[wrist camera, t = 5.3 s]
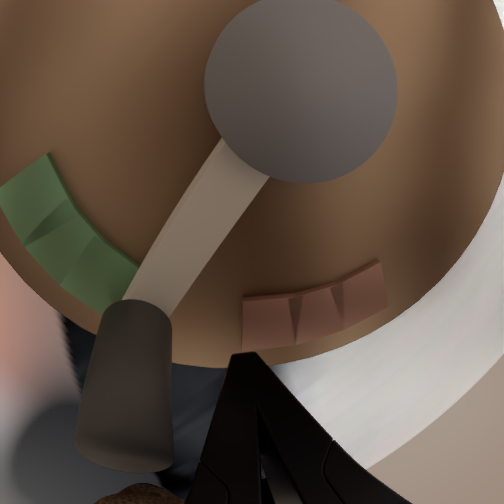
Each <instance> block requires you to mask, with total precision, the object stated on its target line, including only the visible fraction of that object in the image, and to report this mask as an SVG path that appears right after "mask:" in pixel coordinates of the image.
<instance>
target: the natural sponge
mask: <svg viewBox="0 0 504 504" xmlns="http://www.w3.org/2000/svg"><path fill="white" fill-rule="evenodd" d="M184 502H185V500H184V499H182V498H180V497H177V496H175V495H173V494H172V493H170V492H168V491H167V490H165V489H163V488H161V487H158V486H155V485H152V484H148V483H137V484H133V485H131V486H128V487H127V488H125V489H123V490H122V491H120V492H119V493H116V494H112V495H109V496H105V497H102V498H101V499H99V500H98V501H96V502H95V503H94V504H184Z"/></svg>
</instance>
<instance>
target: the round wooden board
mask: <svg viewBox="0 0 504 504" xmlns="http://www.w3.org/2000/svg"><path fill="white" fill-rule="evenodd" d="M258 1H261V0H0V252H1V254H2V255H3V256H4V257H5V259H6V260H7V261H8V262H9V264H10V265H11V266H12V267H13V269H14V270H15V271H16V272H17V273H18V274H19V276H20V277H21V278H22V279H23V280H24V281H25V282H26V284H28V285H29V286H30V287H31V288H32V289H33V290H34V291H35V292H36V293H37V294H38V295H39V296H40V297H41V298H43V299H44V300H45V301H46V302H47V303H48V304H49V305H50V306H52V307H53V308H54V309H56V310H57V311H58V312H60V313H61V314H63V315H64V316H65V317H67V318H68V319H70V320H71V321H73V322H74V323H76V324H77V325H79V326H80V327H82V328H83V329H85V330H87V331H89V332H91V333H93V334H95V335H97V332H98V328H99V325H100V321H101V318H102V315H103V313H104V311H105V310H106V309H107V307H109V306H110V305H111V304H113V303H115V302H117V301H121V300H122V299H123V297H124V295H125V293H126V291H127V289H128V287H129V286H130V284H131V282H132V280H133V278H134V277H135V275H136V273H137V271H138V269H139V268H140V266H141V264H142V262H143V261H144V259H145V257H146V255H147V254H148V252H149V250H150V249H151V247H152V245H153V243H154V242H155V240H156V238H157V237H158V235H159V233H160V232H161V230H162V228H163V227H164V225H165V223H166V222H167V220H168V219H169V217H170V215H171V214H172V212H173V210H174V209H175V207H176V206H177V204H178V203H179V201H180V199H181V198H182V196H183V195H184V193H185V192H186V190H187V188H188V187H189V185H190V184H191V182H192V181H193V179H194V178H195V176H196V175H197V173H198V172H199V170H200V169H201V167H202V166H203V164H204V163H205V161H206V160H207V158H208V157H209V155H210V154H211V153H212V151H213V150H214V148H215V147H216V145H217V144H218V142H219V141H220V140H221V138H222V137H221V135H220V133H219V132H218V130H217V128H216V127H215V125H214V123H213V122H212V120H211V117H210V115H209V112H208V110H207V106H206V102H205V97H204V74H205V68H206V65H207V62H208V58H209V56H210V53H211V51H212V49H213V47H214V45H215V43H216V41H217V39H218V37H219V35H220V34H221V32H222V31H223V30H224V28H225V27H226V26H227V24H228V23H229V22H230V21H231V20H232V19H233V18H234V17H235V16H236V15H238V14H239V13H240V12H242V11H243V10H244V9H246V8H247V7H249V6H251V5H253V4H254V3H256V2H258ZM335 1H337V2H339V3H341V4H343V5H345V6H347V7H349V8H350V9H352V10H353V11H355V12H356V13H358V14H359V15H360V16H361V17H363V18H364V19H365V20H366V21H367V22H368V23H369V24H370V25H371V26H372V27H373V28H374V29H375V31H376V32H377V33H378V35H379V36H380V37H381V39H382V40H383V42H384V44H385V46H386V47H387V49H388V51H389V54H390V56H391V59H392V61H393V65H394V68H395V72H396V78H397V89H398V97H397V107H396V111H395V116H394V119H393V122H392V125H391V128H390V130H389V132H388V134H387V136H386V138H385V140H384V141H383V143H382V144H381V146H380V147H379V148H378V150H377V151H376V152H375V153H374V154H373V155H372V156H371V157H370V158H369V159H368V160H367V161H366V162H365V163H364V164H362V165H361V166H359V167H358V168H357V169H355V170H354V171H352V172H350V173H348V174H346V175H344V176H341V177H339V178H336V179H333V180H329V181H325V182H320V183H311V184H308V183H292V182H286V181H282V180H278V179H275V178H272V177H269V178H268V180H267V181H266V182H265V184H264V185H263V186H262V188H261V189H260V190H259V192H258V193H257V194H256V196H255V197H254V199H253V200H252V201H251V203H250V204H249V205H248V207H247V208H246V209H245V211H244V212H243V214H242V215H241V216H240V218H239V219H238V220H237V222H236V223H235V225H234V226H233V227H232V229H231V230H230V232H229V233H228V234H227V236H226V237H225V238H224V240H223V241H222V243H221V244H220V245H219V247H218V248H217V250H216V251H215V252H214V254H213V255H212V257H211V258H210V260H209V261H208V262H207V264H206V265H205V267H204V268H203V269H202V271H201V272H200V274H199V275H198V277H197V278H196V279H195V281H194V282H193V284H192V285H191V287H190V288H189V289H188V291H187V292H186V294H185V295H184V297H183V298H182V299H181V301H180V302H179V304H178V305H177V307H176V308H175V310H174V311H173V313H172V314H171V315H170V317H169V320H170V322H171V324H172V362H173V363H178V364H184V365H192V366H201V367H210V368H227V367H228V364H229V360H230V357H231V355H232V354H235V353H244V352H252V351H254V352H256V353H257V354H258V355H259V356H260V357H261V358H262V359H263V361H264V362H265V363H266V364H267V365H268V366H269V365H277V364H283V363H287V362H292V361H296V360H301V359H305V358H310V357H313V356H316V355H319V354H322V353H325V352H328V351H331V350H334V349H337V348H339V347H342V346H344V345H346V344H348V343H351V342H353V341H355V340H357V339H359V338H361V337H364V336H366V335H368V334H370V333H371V332H373V331H375V330H376V329H378V328H380V327H381V326H383V325H385V324H386V323H388V322H390V321H391V320H393V319H395V318H396V317H397V316H399V315H400V314H401V313H403V312H404V311H405V310H407V309H408V308H409V307H411V306H412V305H413V304H415V303H416V302H417V301H419V300H420V299H421V298H422V297H423V296H424V295H425V294H426V293H427V292H428V291H429V290H431V289H432V288H433V287H434V286H435V285H436V284H437V283H438V282H439V281H440V280H441V279H442V278H443V277H444V275H445V274H446V273H447V272H448V271H449V270H450V269H451V267H452V266H453V265H454V264H455V263H456V262H457V260H458V259H459V258H460V257H461V255H462V254H463V252H464V251H465V250H466V248H467V247H468V245H469V244H470V242H471V241H472V239H473V238H474V236H475V235H476V233H477V231H478V230H479V228H480V226H481V224H482V222H483V221H484V219H485V217H486V215H487V213H488V211H489V209H490V207H491V205H492V202H493V200H494V197H495V195H496V192H497V190H498V187H499V185H500V182H501V179H502V175H503V172H504V30H503V27H502V24H501V21H500V18H499V15H498V12H497V9H496V7H495V4H494V2H493V0H335Z"/></svg>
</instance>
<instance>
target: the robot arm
mask: <svg viewBox="0 0 504 504" xmlns="http://www.w3.org/2000/svg"><path fill="white" fill-rule="evenodd" d="M332 440H333V438H332V437H331V436H330V435H329V434H328V433H327V432H326V430H325V429H324V428H323V427H322V426H321V425H320V424H319V423H318V422H317V421H316V420H315V419H314V417H313V416H312V415H311V414H310V413H309V412H308V411H307V410H306V409H305V407H304V406H303V405H302V404H301V403H300V402H299V401H298V400H297V399H296V397H295V396H294V395H293V394H292V393H291V392H290V391H289V390H288V388H287V387H286V386H285V385H284V384H283V383H282V382H281V380H280V379H279V378H278V377H277V376H276V375H275V373H274V372H273V371H272V370H271V369H270V368H269V366H268V365H267V364H266V363H265V362H264V361H263V359H262V358H261V357H260V356H259V355H258V354H257V353H256V352H254V351H252V352H244V353H235V354H232V355H231V357H230V360H229V364H228V367H227V371H226V374H225V377H224V381H223V384H222V387H221V391H220V394H219V398H218V401H217V404H216V408H215V411H214V414H213V418H212V421H211V424H210V428H209V431H208V434H207V438H206V441H205V444H204V447H203V451H202V454H201V457H200V461H201V462H199V463H198V467H197V470H196V473H195V476H194V479H193V482H192V485H191V487H190V490H189V493H188V495H187V498H186V500H185V502H184V504H263V497H262V480H261V463H262V466H263V469H264V472H265V475H266V478H267V481H268V484H269V487H270V490H271V493H272V495H273V498H274V501H275V504H412V503H411V502H409V501H407V500H406V499H404V498H403V497H402V496H400V495H399V494H397V493H396V492H395V491H393V490H392V489H391V488H389V487H388V486H386V485H385V484H384V483H382V482H381V481H380V480H378V479H377V478H376V477H374V476H373V475H372V474H370V473H369V472H368V471H367V470H366V469H364V468H363V467H362V466H361V465H359V464H358V463H357V462H356V461H355V460H354V459H353V458H352V457H351V456H350V455H349V454H348V453H347V452H346V451H345V450H344V449H343V448H342V447H341V446H340V445H339V444H338V443H337V442H336V441H335V440H333V441H332ZM260 460H261V462H260Z"/></svg>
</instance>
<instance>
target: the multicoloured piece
mask: <svg viewBox="0 0 504 504" xmlns="http://www.w3.org/2000/svg"><path fill="white" fill-rule="evenodd" d="M204 97H205V102H206V106H207V110H208V112H209V115H210V117H211V120H212V122H213V123H214V125H215V127H216V128H217V130H218V132H219V133H220V135H221V137H222V138H221V140H220V141H219V142H218V144H217V145H216V147H215V148H214V150H213V151H212V153H211V154H210V155H209V157H208V158H207V160H206V161H205V163H204V164H203V166H202V167H201V169H200V170H199V172H198V173H197V175H196V176H195V178H194V179H193V181H192V182H191V184H190V185H189V187H188V188H187V190H186V192H185V193H184V195H183V196H182V198H181V199H180V201H179V203H178V204H177V206H176V207H175V209H174V210H173V212H172V214H171V215H170V217H169V219H168V220H167V222H166V223H165V225H164V227H163V228H162V230H161V232H160V233H159V235H158V237H157V238H156V240H155V242H154V243H153V245H152V247H151V249H150V250H149V252H148V254H147V255H146V257H145V259H144V261H143V262H142V264H141V266H140V268H139V269H138V271H137V273H136V275H135V277H134V278H133V280H132V282H131V284H130V286H129V287H128V289H127V291H126V293H125V295H124V297H123V299H122V300H121V301H117V302H115V303H113V304H111V305H110V306H109V307H107V309H106V310H105V311H104V313H103V315H102V318H101V321H100V325H99V328H98V332H97V336H96V339H95V343H94V347H93V351H92V355H91V359H90V363H89V367H88V371H87V375H86V380H85V384H84V389H83V393H82V398H81V403H80V408H79V413H78V419H77V424H76V430H75V436H74V447H75V449H76V450H77V451H78V453H79V454H81V455H82V456H83V457H84V458H86V459H88V460H89V461H91V462H93V463H95V464H97V465H100V466H103V467H106V468H109V469H113V470H116V471H121V472H129V473H152V472H157V471H161V470H164V469H167V468H168V467H170V466H171V465H172V464H173V462H174V450H173V424H172V324H171V322H170V320H169V317H170V315H171V314H172V313H173V311H174V310H175V308H176V307H177V305H178V304H179V302H180V301H181V299H182V298H183V297H184V295H185V294H186V292H187V291H188V289H189V288H190V287H191V285H192V284H193V282H194V281H195V279H196V278H197V277H198V275H199V274H200V272H201V271H202V269H203V268H204V267H205V265H206V264H207V262H208V261H209V260H210V258H211V257H212V255H213V254H214V252H215V251H216V250H217V248H218V247H219V245H220V244H221V243H222V241H223V240H224V238H225V237H226V236H227V234H228V233H229V232H230V230H231V229H232V227H233V226H234V225H235V223H236V222H237V220H238V219H239V218H240V216H241V215H242V214H243V212H244V211H245V209H246V208H247V207H248V205H249V204H250V203H251V201H252V200H253V199H254V197H255V196H256V194H257V193H258V192H259V190H260V189H261V188H262V186H263V185H264V184H265V182H266V181H267V180H268V178H269V177H272V178H275V179H278V180H282V181H286V182H292V183H308V184H311V183H320V182H325V181H329V180H333V179H336V178H339V177H341V176H344V175H346V174H348V173H350V172H352V171H354V170H355V169H357V168H358V167H359V166H361V165H362V164H364V163H365V162H366V161H367V160H368V159H369V158H370V157H371V156H372V155H373V154H374V153H375V152H376V151H377V150H378V148H379V147H380V146H381V144H382V143H383V141H384V140H385V138H386V136H387V134H388V132H389V130H390V128H391V125H392V122H393V119H394V116H395V111H396V107H397V97H398V89H397V78H396V72H395V68H394V65H393V61H392V59H391V56H390V54H389V51H388V49H387V47H386V46H385V44H384V42H383V40H382V39H381V37H380V36H379V35H378V33H377V32H376V31H375V29H374V28H373V27H372V26H371V25H370V24H369V23H368V22H367V21H366V20H365V19H364V18H363V17H361V16H360V15H359V14H358V13H356V12H355V11H353V10H352V9H350V8H349V7H347V6H345V5H343V4H341V3H339V2H337V1H335V0H261V1H258V2H256V3H254V4H253V5H251V6H249V7H247V8H246V9H244V10H243V11H242V12H240V13H239V14H238V15H236V16H235V17H234V18H233V19H232V20H231V21H230V22H229V23H228V24H227V26H226V27H225V28H224V30H223V31H222V32H221V34H220V35H219V37H218V39H217V41H216V43H215V45H214V47H213V49H212V51H211V53H210V56H209V58H208V62H207V65H206V68H205V74H204Z"/></svg>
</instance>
